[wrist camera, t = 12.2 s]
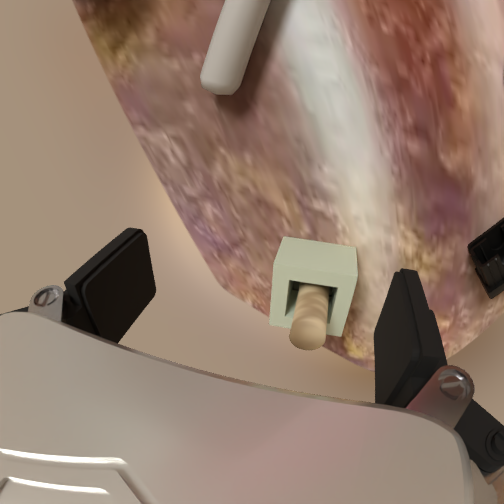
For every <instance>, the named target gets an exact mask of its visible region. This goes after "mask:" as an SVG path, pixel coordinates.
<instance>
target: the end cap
mask: <svg viewBox="0 0 504 504" xmlns="http://www.w3.org/2000/svg"><path fill="white" fill-rule="evenodd" d="M468 250H469V252H470V254H471V257H472V259H473V261H474V263H475V265H476V268H475V270H476V273H477V275H478V277H479V279H480V281H481V283H482V285H483V287H484V289H485V291H486V293H487V295H488V296H489V298H490V299H492V298H494V297H495V296H497V295H498V294H500V293H501V292H502V291H504V218H502V219H501V220H500V221H499V222H497V223H496V224H495V225H493V226H492V227H491V228H490V229H488V230H487V231H486V232H484V233H483V234H482V235H480V236H479V237H478V238H476V239H475V240H473V241H472V242H471V243H469V244H468Z"/></svg>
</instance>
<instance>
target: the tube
mask: <svg viewBox="0 0 504 504" xmlns="http://www.w3.org/2000/svg"><path fill="white" fill-rule="evenodd" d="M270 1H271V0H225V3H224V6H223V8H222V11H221V14H220V17H219V19H218V22H217V25H216V28H215V31H214V34H213V37H212V40H211V43H210V46H209V49H208V52H207V55H206V59H205V62H204V65H203V68H202V72H201V75H200V79H201V85H202V88H204V89H206V90H208V91H210V92H212V93H214V94H216V95H232V94H233V93H234V92H235V91H236V90H237V89H238V88H239V87H240V85H241V82H242V79H243V76H244V73H245V70H246V67H247V64H248V61H249V58H250V55H251V53H252V50H253V47H254V44H255V41H256V39H257V36H258V33H259V30H260V28H261V25H262V22H263V19H264V17H265V14H266V11H267V9H268V6H269V4H270Z"/></svg>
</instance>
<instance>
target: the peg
mask: <svg viewBox="0 0 504 504" xmlns="http://www.w3.org/2000/svg"><path fill="white" fill-rule="evenodd" d="M328 300H329V286H325V285H318V284H312V283H305V282H300V286H299V291H298V296H297V301H296V306H295V311H294V316H293V321H292V326H291V330H290V335H289V338H290V341H291V343H292V344H293V345H294V346H296V347H297V348H300V349H303V350H315V349H318V348H320V347H321V346H322V345H323V344H324V342H325V339H326V327H327V314H328Z"/></svg>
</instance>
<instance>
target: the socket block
mask: <svg viewBox="0 0 504 504" xmlns="http://www.w3.org/2000/svg"><path fill="white" fill-rule="evenodd" d="M357 278H358V269H357V254H356V247H351V246H345V245H338V244H332V243H325V242H319V241H312V240H305V239H298V238H292V237H285V236H284V237H283V239H282V242H281V245H280V248H279V250H278V253H277V256H276V258H275V261H274V266H273V279H272V292H271V305H270V318H269V325H273V326H278V327H284V328H290V329H291V326H292V321H293V316H294V311H295V306H296V301H297V296H298V291H299V286H300V282H305V283H312V284H318V285H325V286H329V300H328V314H327V327H326V334H327V335H333V336H340V337H341V335H342V332H343V329H344V325H345V322H346V319H347V315H348V312H349V308H350V305H351V301H352V297H353V294H354V290H355V286H356V282H357Z"/></svg>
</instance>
